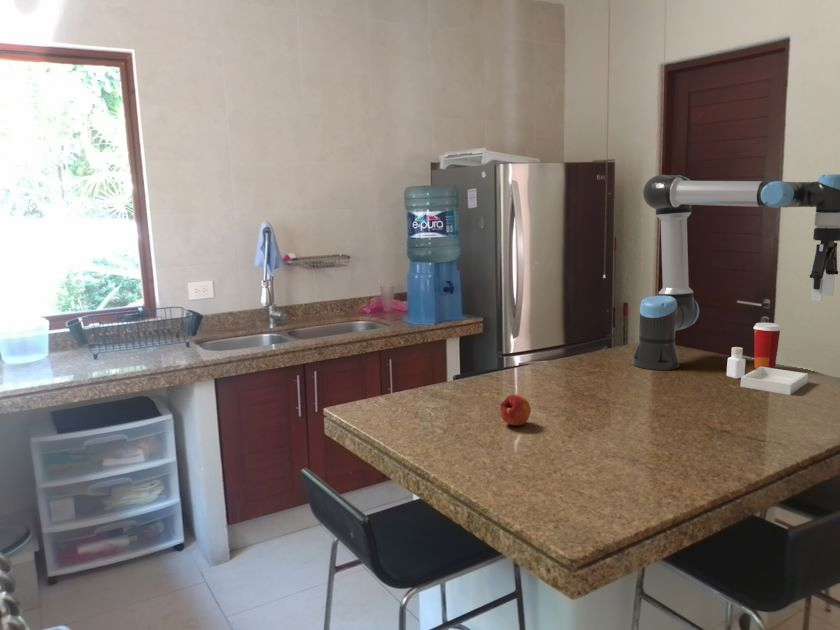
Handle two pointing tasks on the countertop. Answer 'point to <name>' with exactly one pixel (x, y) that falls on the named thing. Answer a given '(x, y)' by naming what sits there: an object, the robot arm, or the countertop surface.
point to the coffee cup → (766, 344)
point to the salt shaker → (736, 363)
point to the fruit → (515, 410)
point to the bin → (774, 380)
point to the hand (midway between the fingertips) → (822, 297)
